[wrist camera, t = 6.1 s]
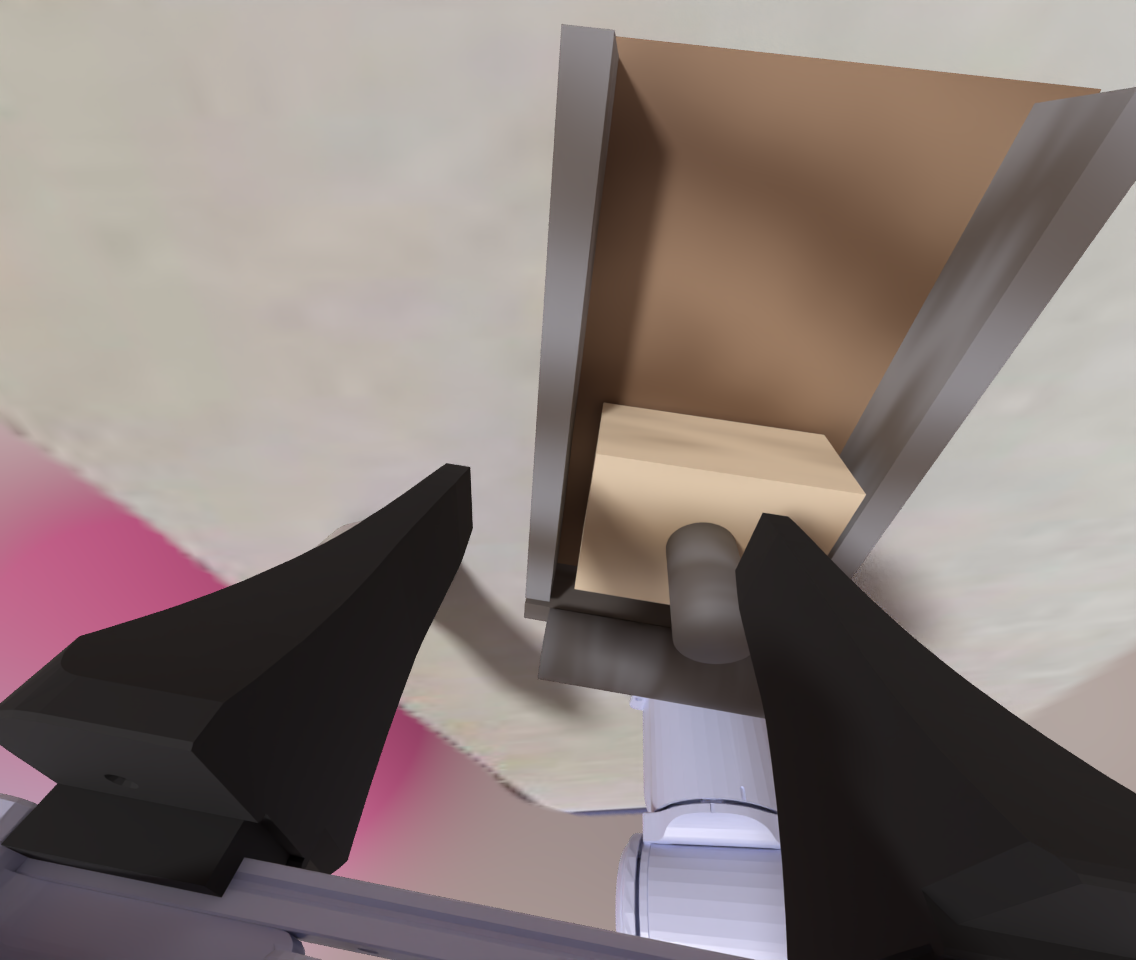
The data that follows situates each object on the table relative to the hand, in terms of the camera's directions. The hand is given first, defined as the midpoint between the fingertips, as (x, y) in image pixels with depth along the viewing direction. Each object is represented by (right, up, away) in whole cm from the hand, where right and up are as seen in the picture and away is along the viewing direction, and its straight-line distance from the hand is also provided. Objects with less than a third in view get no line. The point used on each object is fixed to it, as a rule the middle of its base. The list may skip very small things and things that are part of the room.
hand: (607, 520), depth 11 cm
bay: (+5, +4, +8) cm, 10 cm away
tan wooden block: (+5, +1, +9) cm, 10 cm away
